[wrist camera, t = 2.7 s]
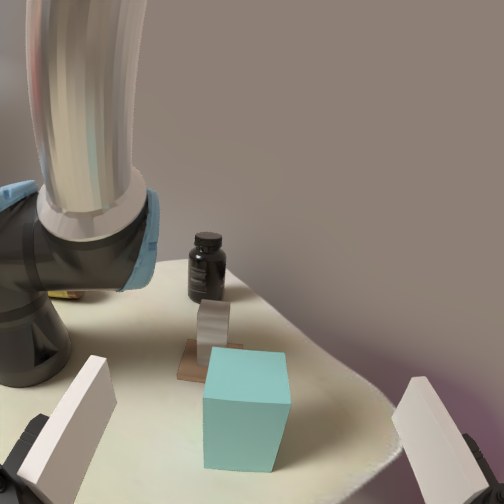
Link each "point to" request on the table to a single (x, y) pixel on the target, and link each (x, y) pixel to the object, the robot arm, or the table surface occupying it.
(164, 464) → the table surface
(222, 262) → the supplement bottle
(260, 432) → the tall teal pillar
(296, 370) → the table surface
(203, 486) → the table surface
